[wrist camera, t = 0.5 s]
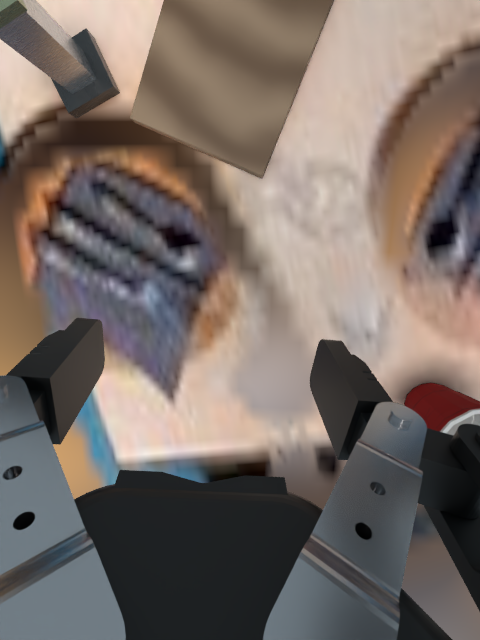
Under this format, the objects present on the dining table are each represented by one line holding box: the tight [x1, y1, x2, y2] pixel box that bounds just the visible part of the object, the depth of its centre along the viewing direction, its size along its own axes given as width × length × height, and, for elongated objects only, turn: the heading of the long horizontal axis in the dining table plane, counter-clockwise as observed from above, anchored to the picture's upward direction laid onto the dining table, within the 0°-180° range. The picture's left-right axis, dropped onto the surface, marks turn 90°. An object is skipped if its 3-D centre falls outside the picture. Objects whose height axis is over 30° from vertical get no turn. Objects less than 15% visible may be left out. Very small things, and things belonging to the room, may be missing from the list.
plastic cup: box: [404, 383, 480, 436], centre depth 34 cm, size 11×11×12 cm
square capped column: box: [0, 0, 120, 118], centre depth 28 cm, size 6×6×13 cm
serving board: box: [130, 0, 334, 178], centre depth 32 cm, size 20×15×2 cm
